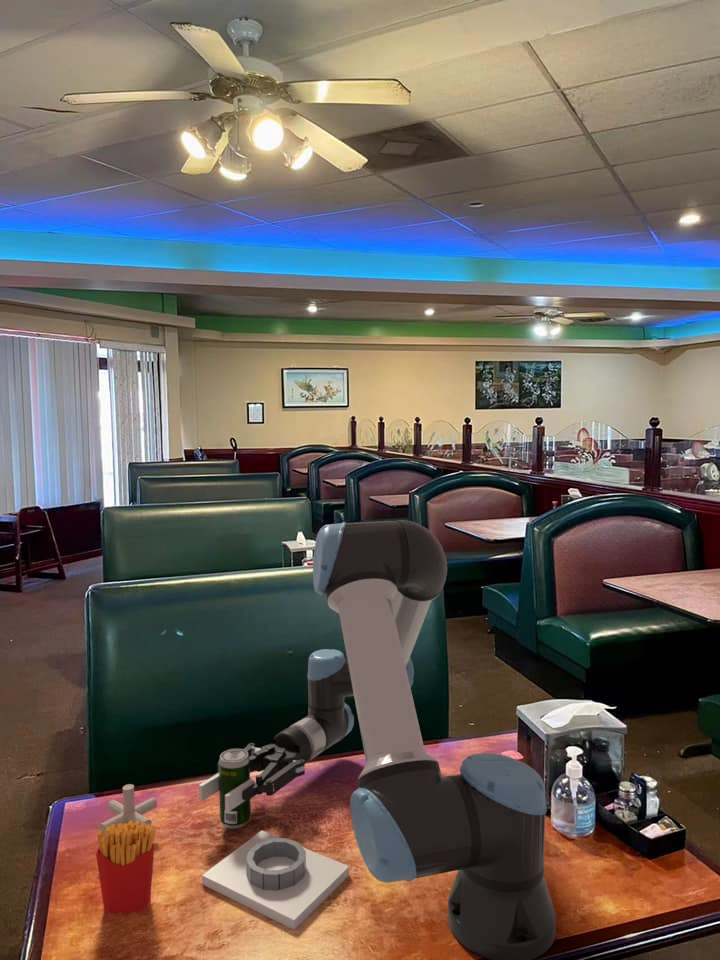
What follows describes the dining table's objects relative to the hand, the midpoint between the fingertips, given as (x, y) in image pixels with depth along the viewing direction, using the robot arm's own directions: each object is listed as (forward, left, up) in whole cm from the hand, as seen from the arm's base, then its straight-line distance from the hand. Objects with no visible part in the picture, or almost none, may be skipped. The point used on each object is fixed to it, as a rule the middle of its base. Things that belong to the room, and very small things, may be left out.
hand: (213, 798), depth 118 cm
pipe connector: (+12, +8, -8) cm, 16 cm away
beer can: (0, -5, -7) cm, 9 cm away
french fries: (0, +18, -8) cm, 20 cm away
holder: (-15, +2, -8) cm, 17 cm away
